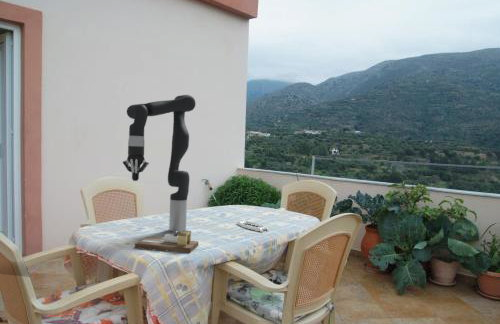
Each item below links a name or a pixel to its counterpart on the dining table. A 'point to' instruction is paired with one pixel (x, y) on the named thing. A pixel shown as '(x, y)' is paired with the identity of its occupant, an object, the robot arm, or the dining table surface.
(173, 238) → the bolt
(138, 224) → the dining table surface
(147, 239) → the door panel
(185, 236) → the keeper
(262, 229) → the door handle
